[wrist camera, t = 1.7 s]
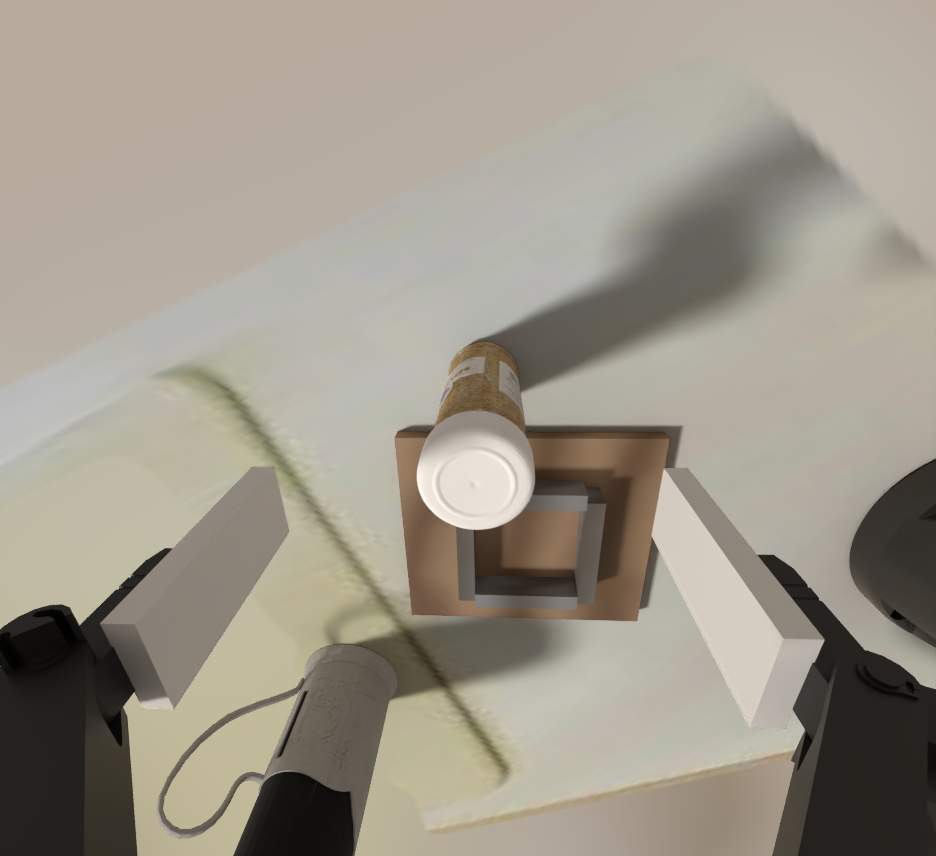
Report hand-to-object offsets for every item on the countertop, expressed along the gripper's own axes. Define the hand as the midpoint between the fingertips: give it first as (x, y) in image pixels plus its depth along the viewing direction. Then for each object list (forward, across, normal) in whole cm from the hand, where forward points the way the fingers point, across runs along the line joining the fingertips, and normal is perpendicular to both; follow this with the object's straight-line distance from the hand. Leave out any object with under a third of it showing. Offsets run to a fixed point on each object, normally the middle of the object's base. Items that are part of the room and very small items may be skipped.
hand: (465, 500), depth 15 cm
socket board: (+15, -3, +12) cm, 20 cm away
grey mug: (+15, +15, +28) cm, 35 cm away
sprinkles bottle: (+15, 0, 0) cm, 15 cm away
